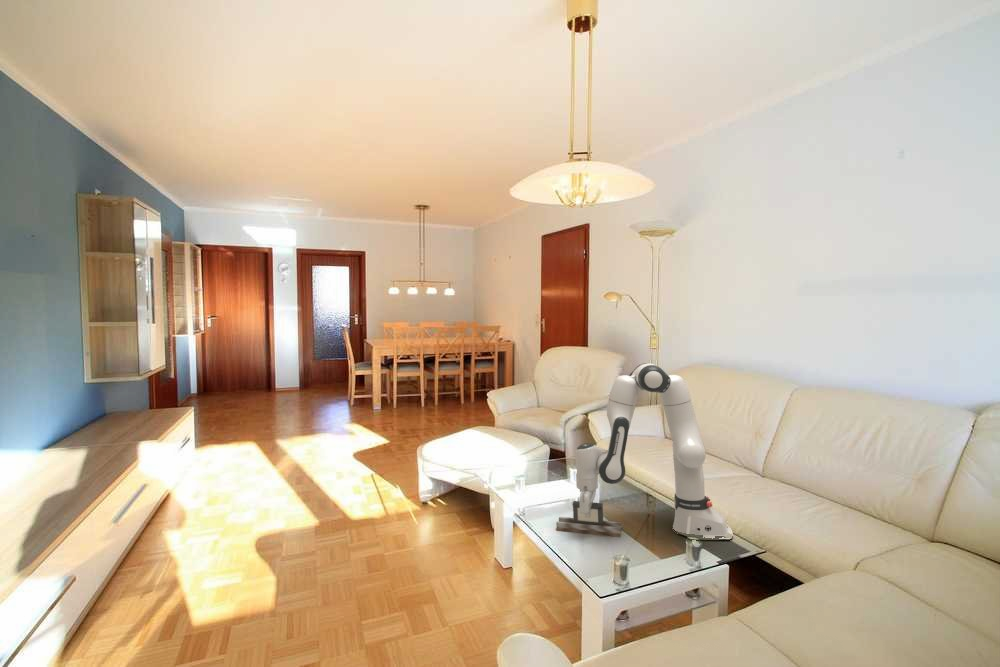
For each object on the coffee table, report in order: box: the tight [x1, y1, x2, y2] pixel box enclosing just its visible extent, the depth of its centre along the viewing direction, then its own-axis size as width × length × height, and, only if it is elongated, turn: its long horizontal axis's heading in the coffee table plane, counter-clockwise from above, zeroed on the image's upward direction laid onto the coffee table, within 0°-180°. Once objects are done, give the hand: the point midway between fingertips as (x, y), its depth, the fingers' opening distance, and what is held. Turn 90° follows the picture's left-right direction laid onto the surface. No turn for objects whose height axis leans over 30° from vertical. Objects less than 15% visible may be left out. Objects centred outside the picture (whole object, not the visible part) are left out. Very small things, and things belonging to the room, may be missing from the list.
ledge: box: [555, 516, 623, 538], centre depth 201 cm, size 26×8×3 cm, turn 71°
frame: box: [572, 500, 604, 526], centre depth 201 cm, size 12×2×9 cm, turn 71°
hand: (588, 515), depth 201 cm, fingers closed on frame, 2 cm apart
